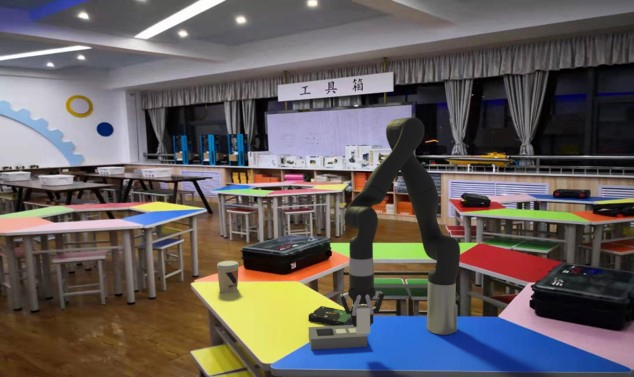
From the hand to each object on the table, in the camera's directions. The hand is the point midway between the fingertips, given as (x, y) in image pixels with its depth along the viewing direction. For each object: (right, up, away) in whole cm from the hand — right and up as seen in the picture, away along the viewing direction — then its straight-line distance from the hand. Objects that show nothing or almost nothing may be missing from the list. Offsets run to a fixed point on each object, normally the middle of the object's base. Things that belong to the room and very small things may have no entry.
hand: (362, 325), depth 135 cm
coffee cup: (-53, -3, +60) cm, 80 cm away
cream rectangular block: (0, -2, 0) cm, 2 cm away
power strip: (-7, -8, +9) cm, 14 cm away
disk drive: (-8, -7, +27) cm, 29 cm away
